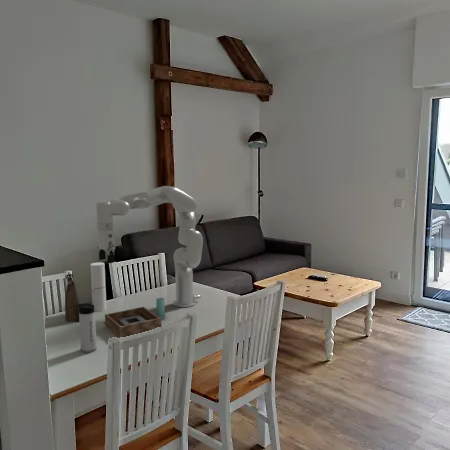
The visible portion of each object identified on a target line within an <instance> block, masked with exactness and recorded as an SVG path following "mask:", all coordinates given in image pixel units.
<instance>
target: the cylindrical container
mask: <svg viewBox="0 0 450 450" xmlns="http://www.w3.org/2000/svg"><path fill="white" fill-rule="evenodd" d="M90 281H91V282H90V283H91V286H90V287H91V302H92V303H91V304H93V305H94V308H95V309H94V310H95V311H96V312H97V313H98V312H99V311H100V312H104V311H107V293H106V292H107V291H106V290H107V289H106V288H107V287H106V268H105V262H99V261H98V262H92V263H90ZM96 312H95V313H96Z"/></svg>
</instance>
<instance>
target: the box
mask: <svg viewBox="0 0 450 450" xmlns="http://www.w3.org/2000/svg"><path fill="white" fill-rule="evenodd" d="M137 315H139V316H141V317H142V318H143V319H145V320H146V321H143V322H138V323H134V324H129V325H125V326H121V325H120V324H118V319H123V318H127V317H132V316H137ZM104 325H105V328H107V330H108V331H110V332H111V333H112V334H113V335H114V336H115V337H117V338H118V337H119V338H120V337H126V336H130V335H134V334H138V333H142V332H145V331H149V330H152V329H155V328H157V327H161V328H162V320H161V318H160V317H159V316H157V314H156V313H154V312H152V311H151V310H149V309H148V308H146V307H145V306H141V307H136V308H135V307H134V308H131V309H125V310H121V311H116V312H111V313H106V314H104ZM119 338H118V339H119Z"/></svg>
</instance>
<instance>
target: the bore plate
mask: <svg viewBox="0 0 450 450" xmlns="http://www.w3.org/2000/svg"><path fill="white" fill-rule="evenodd" d="M143 321H146V320H145V319H143V318H142V317H141V316H139V315H137V316H132V317H127V318H123V319H118V324H120V325H121V326H125V325H129V324H134V323H138V322H143Z"/></svg>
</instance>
